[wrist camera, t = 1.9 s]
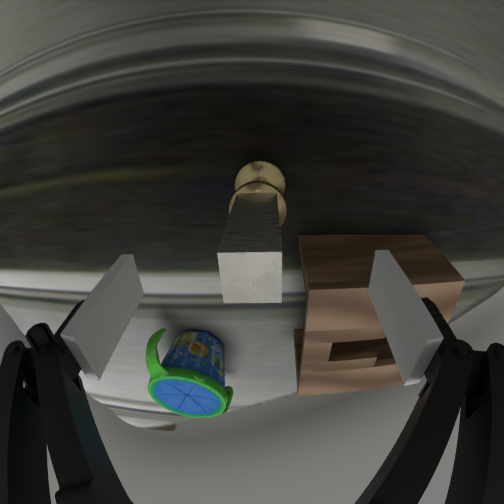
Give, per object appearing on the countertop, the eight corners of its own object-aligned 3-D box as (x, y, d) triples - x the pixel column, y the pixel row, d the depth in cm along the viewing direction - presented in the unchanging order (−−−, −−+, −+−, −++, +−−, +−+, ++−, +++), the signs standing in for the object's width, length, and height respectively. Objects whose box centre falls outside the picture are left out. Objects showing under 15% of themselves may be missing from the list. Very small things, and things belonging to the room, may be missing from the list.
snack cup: (142, 319, 39) (118, 371, 31) (199, 297, 37) (180, 357, 28) (200, 379, 46) (190, 428, 37) (254, 366, 43) (250, 421, 34)
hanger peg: (234, 160, 28) (193, 234, 13) (284, 159, 27) (304, 231, 13) (237, 206, 30) (208, 316, 15) (285, 205, 30) (299, 316, 15)
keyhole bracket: (298, 235, 31) (309, 289, 23) (424, 234, 30) (465, 280, 22) (293, 337, 39) (297, 395, 31) (396, 329, 38) (417, 381, 29)
